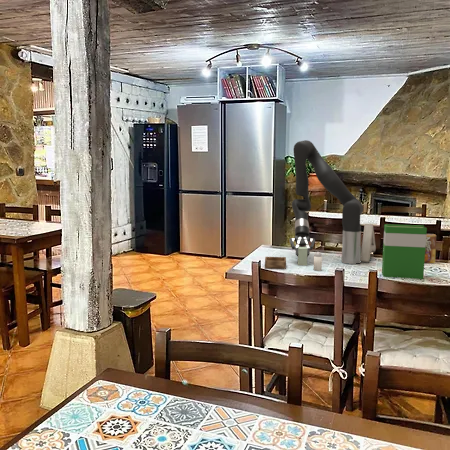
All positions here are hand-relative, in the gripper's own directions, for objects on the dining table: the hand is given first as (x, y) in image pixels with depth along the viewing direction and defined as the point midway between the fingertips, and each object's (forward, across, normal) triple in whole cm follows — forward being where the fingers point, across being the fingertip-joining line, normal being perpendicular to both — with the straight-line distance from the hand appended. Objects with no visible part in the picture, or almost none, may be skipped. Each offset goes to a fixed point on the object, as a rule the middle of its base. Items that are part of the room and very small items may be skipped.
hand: (302, 255), depth 235 cm
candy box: (-6, +66, +14) cm, 68 cm away
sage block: (+3, 0, +4) cm, 5 cm away
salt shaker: (+10, +7, -3) cm, 13 cm away
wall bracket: (-15, +39, +23) cm, 47 cm away
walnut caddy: (+7, -14, 0) cm, 16 cm away
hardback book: (+15, +46, -8) cm, 49 cm away
